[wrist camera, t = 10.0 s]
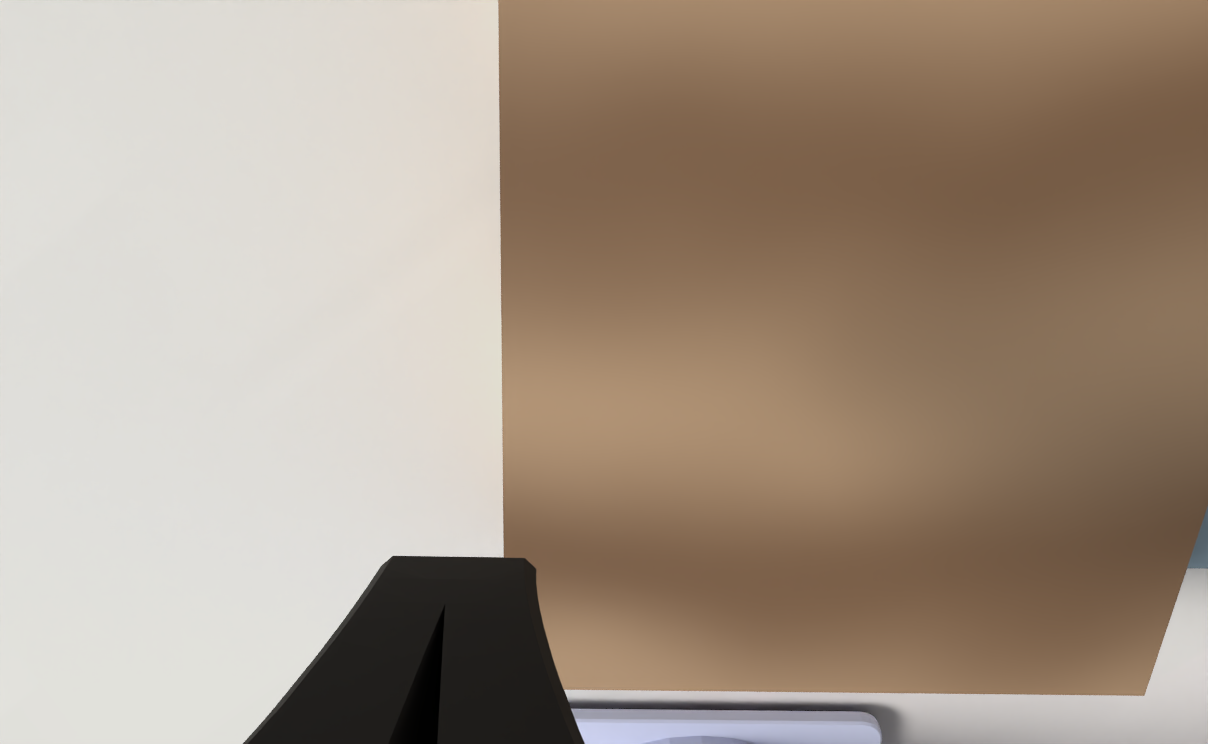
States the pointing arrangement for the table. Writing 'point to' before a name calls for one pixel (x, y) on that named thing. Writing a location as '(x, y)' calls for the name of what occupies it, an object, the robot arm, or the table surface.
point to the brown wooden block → (854, 338)
